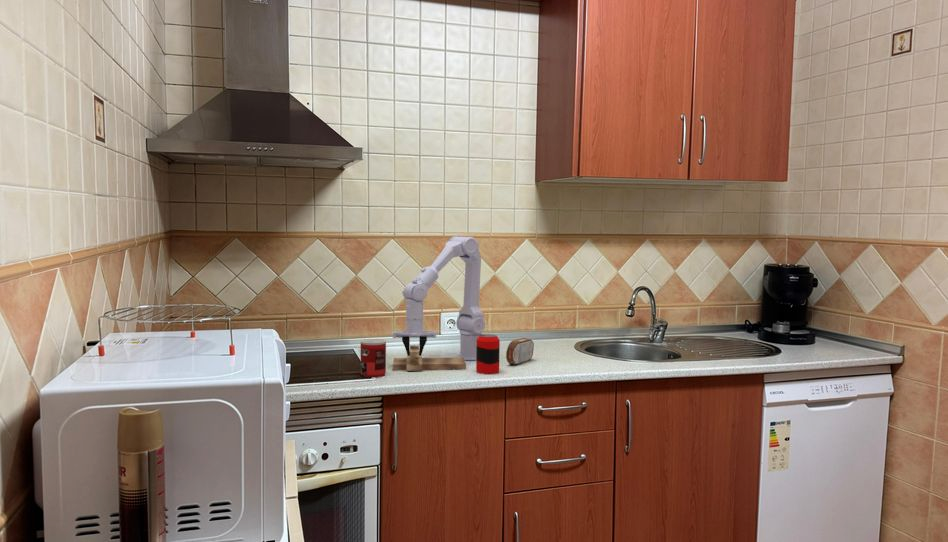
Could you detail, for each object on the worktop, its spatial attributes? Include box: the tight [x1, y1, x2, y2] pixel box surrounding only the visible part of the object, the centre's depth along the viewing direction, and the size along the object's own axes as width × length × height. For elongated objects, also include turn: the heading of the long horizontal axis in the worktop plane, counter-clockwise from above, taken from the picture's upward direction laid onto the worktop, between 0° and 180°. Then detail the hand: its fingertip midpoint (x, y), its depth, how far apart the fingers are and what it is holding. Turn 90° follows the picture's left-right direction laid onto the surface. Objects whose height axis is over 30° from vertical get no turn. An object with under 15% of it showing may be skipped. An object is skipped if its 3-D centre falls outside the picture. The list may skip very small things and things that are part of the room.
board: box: [392, 357, 467, 371], centre depth 217 cm, size 24×10×2 cm, turn 95°
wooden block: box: [406, 344, 423, 372], centre depth 216 cm, size 5×12×6 cm, turn 5°
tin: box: [505, 337, 535, 366], centre depth 225 cm, size 15×3×8 cm, turn 145°
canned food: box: [360, 338, 387, 378], centre depth 205 cm, size 8×8×11 cm
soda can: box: [475, 333, 501, 375], centre depth 211 cm, size 8×8×12 cm
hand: (414, 358), depth 217 cm, fingers closed on wooden block, 3 cm apart
